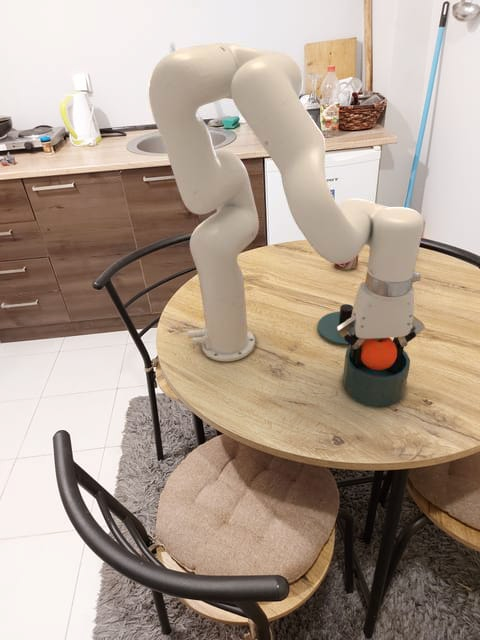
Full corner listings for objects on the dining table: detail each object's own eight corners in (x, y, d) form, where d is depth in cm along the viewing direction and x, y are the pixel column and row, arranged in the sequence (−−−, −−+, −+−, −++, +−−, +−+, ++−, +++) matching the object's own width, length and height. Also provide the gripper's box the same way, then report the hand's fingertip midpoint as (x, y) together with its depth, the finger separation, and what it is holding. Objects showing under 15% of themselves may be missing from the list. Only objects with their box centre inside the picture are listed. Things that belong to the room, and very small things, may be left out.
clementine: (345, 360, 85) (349, 332, 81) (369, 347, 88) (374, 319, 84) (377, 383, 80) (383, 354, 76) (401, 367, 83) (408, 339, 79)
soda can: (359, 271, 126) (363, 233, 119) (335, 272, 126) (338, 234, 119) (354, 259, 132) (358, 223, 125) (331, 261, 132) (334, 224, 125)
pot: (349, 409, 83) (353, 380, 78) (337, 367, 93) (340, 340, 88) (412, 405, 82) (419, 377, 78) (393, 364, 92) (398, 336, 88)
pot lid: (322, 349, 98) (323, 325, 94) (313, 316, 109) (314, 294, 105) (379, 345, 98) (382, 322, 94) (365, 313, 108) (367, 291, 104)
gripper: (431, 267, 76) (413, 345, 87) (333, 272, 77) (327, 349, 87) (448, 289, 70) (426, 370, 80) (342, 295, 70) (334, 374, 81)
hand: (375, 358), depth 84 cm, fingers closed on clementine, 6 cm apart
